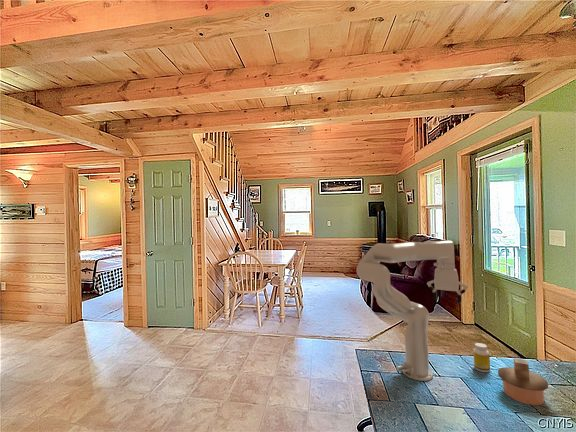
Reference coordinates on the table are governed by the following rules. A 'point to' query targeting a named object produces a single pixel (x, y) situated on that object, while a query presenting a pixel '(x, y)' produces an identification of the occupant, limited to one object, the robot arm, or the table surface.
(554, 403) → the table surface
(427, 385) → the table surface
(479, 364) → the pill bottle
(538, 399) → the terracotta bowl
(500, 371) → the walnut lid
